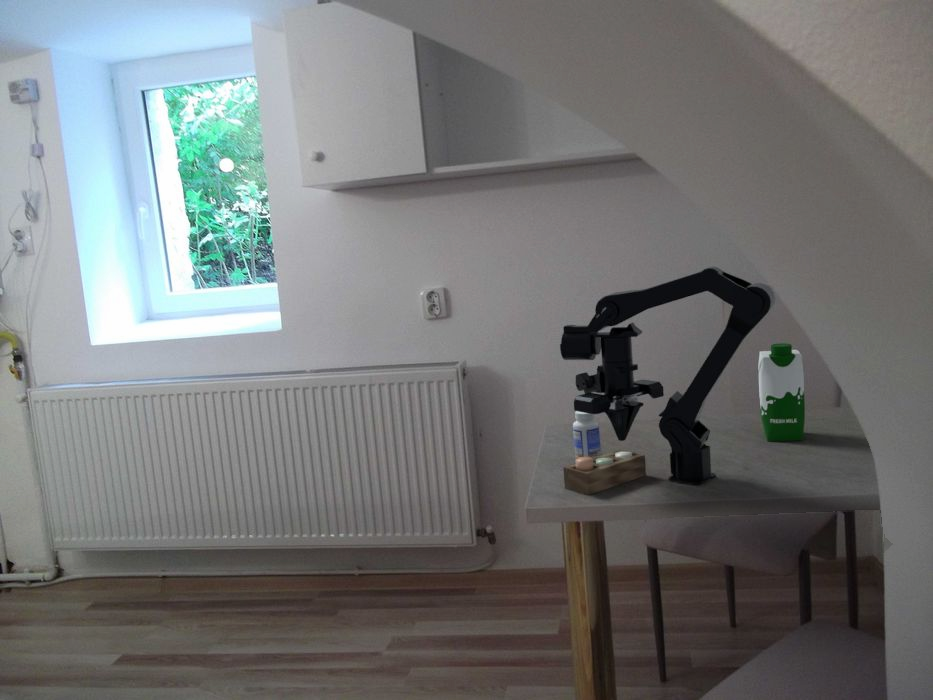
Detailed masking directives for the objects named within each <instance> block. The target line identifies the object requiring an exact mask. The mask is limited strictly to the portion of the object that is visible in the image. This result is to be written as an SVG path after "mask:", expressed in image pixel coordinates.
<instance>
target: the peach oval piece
mask: <svg viewBox="0 0 933 700" xmlns="http://www.w3.org/2000/svg"><path fill="white" fill-rule="evenodd" d="M574 462H575V463H576V470H579V471H583V472H585V471H588V470H591V469H593V459H592V458H590V457H581V458H575V461H574Z"/></svg>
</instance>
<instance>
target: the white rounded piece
mask: <svg viewBox="0 0 933 700" xmlns="http://www.w3.org/2000/svg"><path fill="white" fill-rule="evenodd" d="M631 452H632V451H630V452H618V453H616V454H615V457H618V458H622V459H625V458H628V457H631V456H632V453H631Z"/></svg>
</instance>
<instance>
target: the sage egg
mask: <svg viewBox="0 0 933 700" xmlns="http://www.w3.org/2000/svg"><path fill="white" fill-rule="evenodd" d="M596 463H598V464H601V465H607V464H610V463H613V459H612V458H599V459H596Z"/></svg>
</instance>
